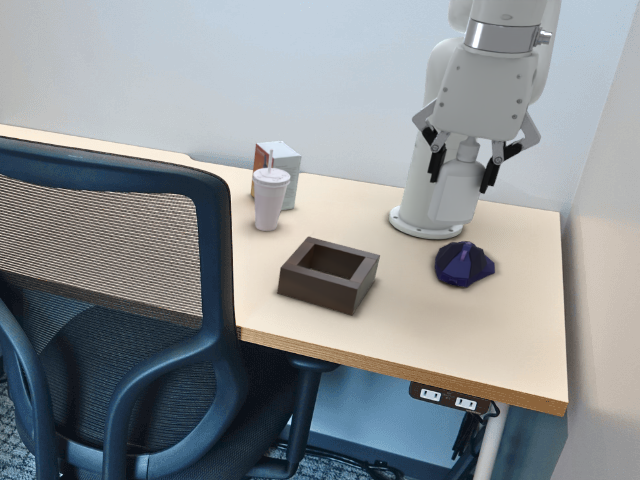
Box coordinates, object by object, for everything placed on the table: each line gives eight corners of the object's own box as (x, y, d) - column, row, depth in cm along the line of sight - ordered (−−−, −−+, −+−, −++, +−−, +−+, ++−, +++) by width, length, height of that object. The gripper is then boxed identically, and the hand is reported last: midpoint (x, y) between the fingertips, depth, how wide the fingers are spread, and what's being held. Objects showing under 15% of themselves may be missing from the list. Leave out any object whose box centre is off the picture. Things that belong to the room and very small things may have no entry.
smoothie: (260, 214, 126) (268, 140, 118) (290, 225, 123) (301, 149, 115) (240, 227, 122) (247, 150, 114) (271, 238, 119) (281, 160, 111)
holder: (304, 260, 113) (307, 236, 110) (374, 280, 108) (380, 254, 105) (276, 293, 104) (280, 267, 102) (352, 315, 100) (357, 289, 97)
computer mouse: (501, 256, 115) (508, 235, 112) (485, 297, 104) (493, 274, 102) (443, 242, 118) (449, 221, 116) (422, 280, 108) (428, 258, 106)
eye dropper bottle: (470, 231, 90) (497, 141, 83) (425, 223, 92) (448, 134, 85) (471, 217, 93) (497, 130, 86) (428, 210, 95) (450, 124, 88)
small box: (249, 195, 133) (254, 142, 127) (276, 191, 135) (282, 139, 129) (267, 212, 127) (273, 158, 121) (294, 209, 129) (302, 154, 123)
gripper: (585, 40, 79) (533, 189, 89) (430, 22, 86) (399, 162, 96) (580, 54, 73) (526, 210, 83) (416, 33, 80) (384, 180, 91)
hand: (459, 183), depth 90 cm, fingers closed on eye dropper bottle, 5 cm apart
